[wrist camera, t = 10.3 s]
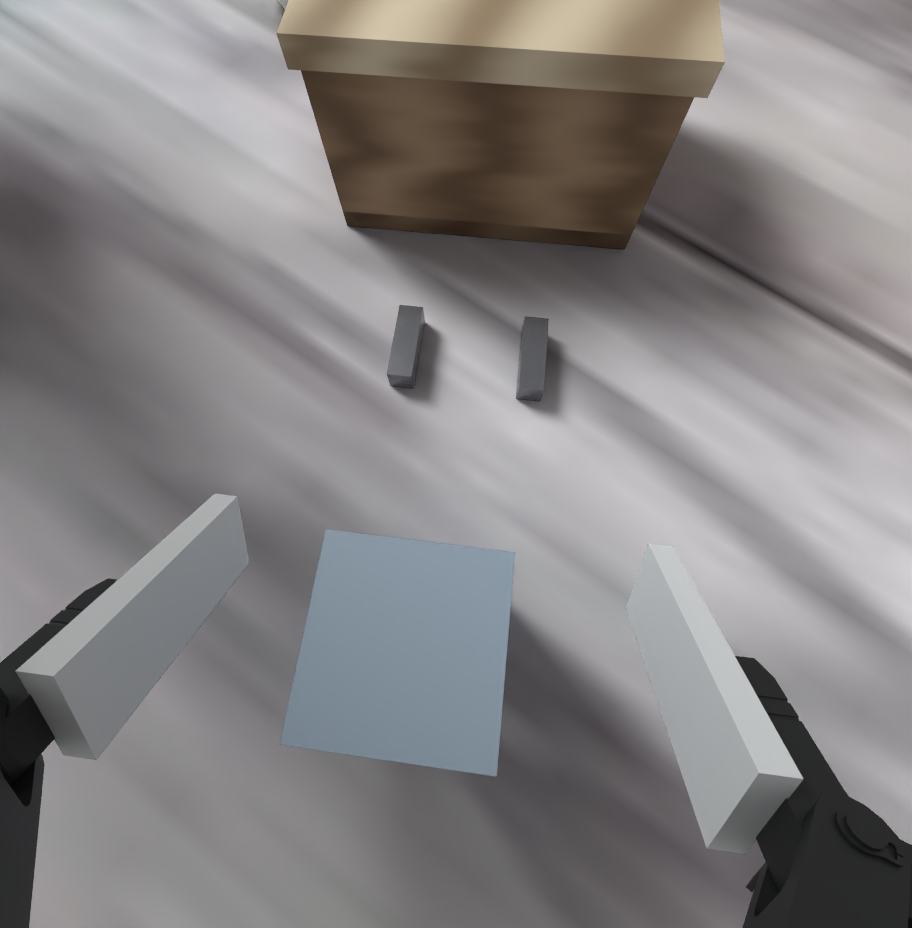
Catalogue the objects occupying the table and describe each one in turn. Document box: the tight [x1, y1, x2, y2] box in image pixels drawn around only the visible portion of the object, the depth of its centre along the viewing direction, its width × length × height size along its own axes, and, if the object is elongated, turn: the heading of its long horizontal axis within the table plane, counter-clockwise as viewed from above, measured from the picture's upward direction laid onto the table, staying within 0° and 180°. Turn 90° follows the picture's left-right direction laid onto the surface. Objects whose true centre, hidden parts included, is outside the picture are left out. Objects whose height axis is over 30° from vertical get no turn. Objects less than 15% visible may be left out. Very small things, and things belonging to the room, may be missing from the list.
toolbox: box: [301, 70, 694, 249], centre depth 23 cm, size 16×12×8 cm
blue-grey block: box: [280, 529, 515, 777], centre depth 14 cm, size 4×4×11 cm
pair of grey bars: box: [387, 305, 549, 401], centre depth 22 cm, size 8×4×1 cm, turn 83°
